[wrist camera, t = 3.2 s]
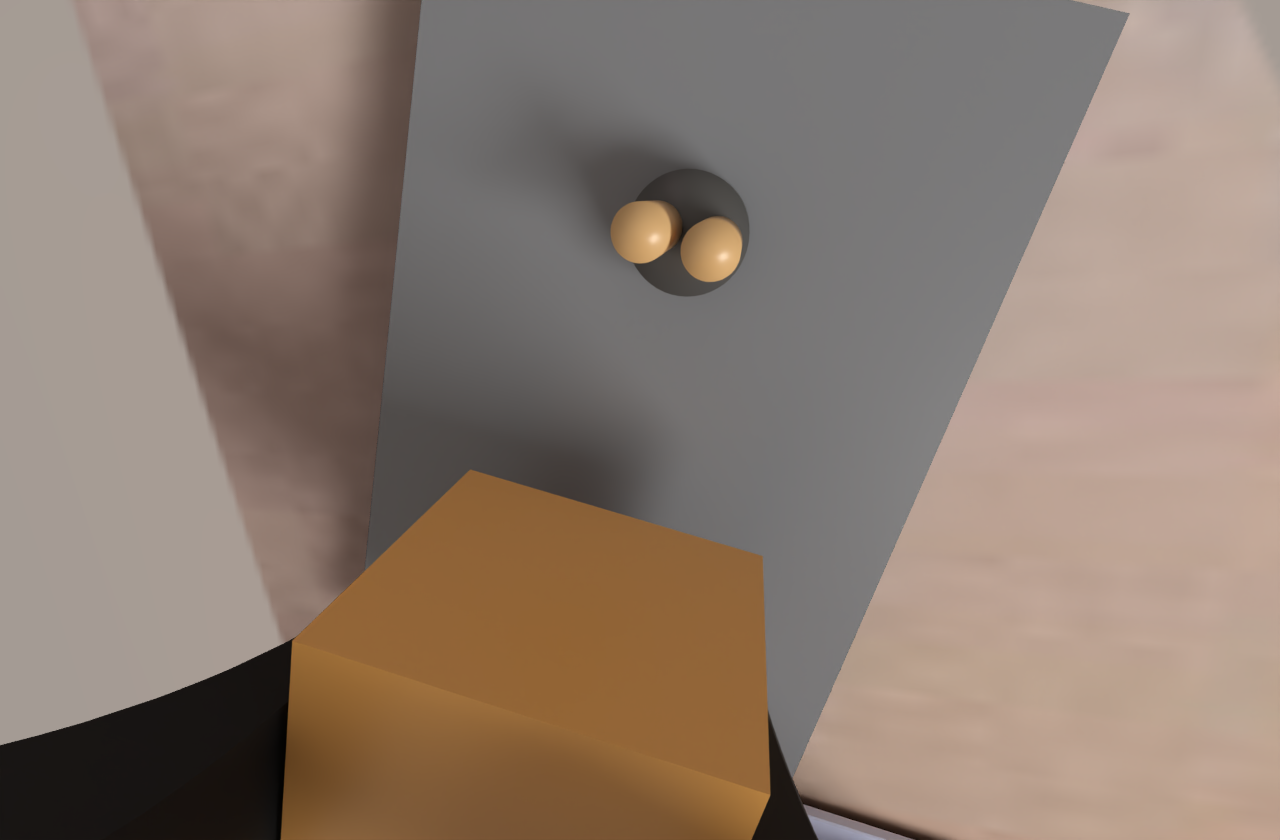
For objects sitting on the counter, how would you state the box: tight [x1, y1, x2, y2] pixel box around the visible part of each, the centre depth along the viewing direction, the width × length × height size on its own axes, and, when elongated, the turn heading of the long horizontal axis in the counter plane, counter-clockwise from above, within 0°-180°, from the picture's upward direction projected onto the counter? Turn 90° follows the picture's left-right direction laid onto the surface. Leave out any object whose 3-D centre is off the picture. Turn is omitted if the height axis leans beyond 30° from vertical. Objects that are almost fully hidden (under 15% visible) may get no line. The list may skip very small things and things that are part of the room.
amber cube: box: [281, 470, 770, 840], centre depth 11 cm, size 6×6×5 cm
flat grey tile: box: [365, 0, 1130, 778], centre depth 14 cm, size 18×12×5 cm, turn 166°
